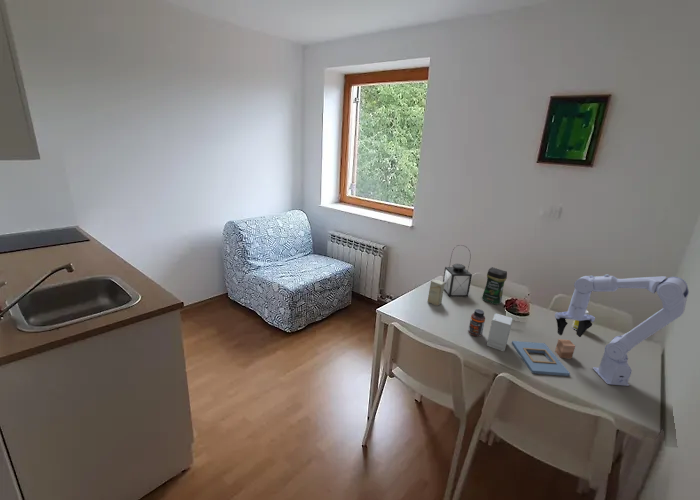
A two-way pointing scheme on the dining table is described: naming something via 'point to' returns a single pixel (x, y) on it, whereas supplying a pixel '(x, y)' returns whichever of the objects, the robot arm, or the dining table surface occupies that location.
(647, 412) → the dining table surface
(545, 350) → the blue board with hole
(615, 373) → the robot arm
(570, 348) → the block
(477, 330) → the supplement bottle
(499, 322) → the supplement box
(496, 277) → the coffee jar
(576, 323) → the supplement bottle
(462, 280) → the lantern
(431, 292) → the skincare box
